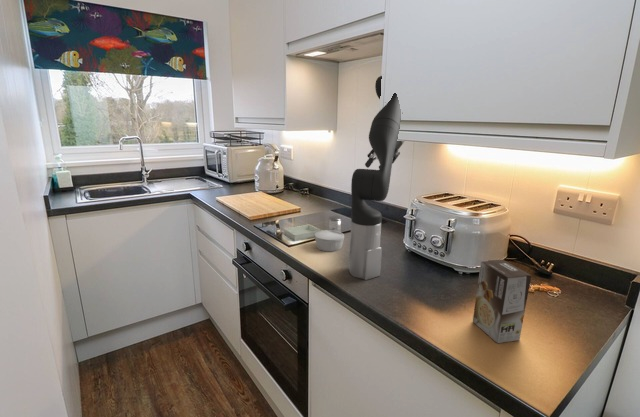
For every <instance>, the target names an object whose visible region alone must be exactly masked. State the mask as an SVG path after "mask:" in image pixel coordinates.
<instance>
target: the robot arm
mask: <svg viewBox="0 0 640 417" xmlns="http://www.w3.org/2000/svg"><path fill="white" fill-rule="evenodd" d="M381 79H382V75H380V76H378V77H377V78H376V80H375V86H374V89H375V93H376V96H377V97H378V99H379V100H380V96H381ZM400 122H401V109H400V104H399V100H398V97H397V94H396V93H394V94H393V96H392V98H391V100H390V101H389V102H388V103H386V104H385V105H384V106H383V107H382V108H380V110H379V111H378V112H377V113H376V115H375V116H374V118H373V120H372V122H371V123H370V124H371V125H370V128H369V129H370V130H369V132H368V141H369V144H370V147H371V150H370V151H369V153H367V158H368V159H367V161H366V162H365V163H364V167H366V168H357V169H355V170H354V171H353V173H352V176H351V186H350V189H351V190H350V191H351V196H350V198H351V208H350V209H351V210H350V212H351V220H350V222H351V223H350V243H349V266H348V267H349V268H348V271H349V272H348V273H349V274H350V276H353V277H354V278H357V279H362V280H364V281H367V280H370V279H371V280H372V279H373V278H377V277H380V276H381V271H382V270H381V269H382V268H381V267H382V253H383V252H382V251H383V247H381V232H382V222H383V221H382V220H383V215H382V213H381V211H379V210H377V209H376V208H373V207H372V206H370V205H369V204H368V203H367V202H366V201H371V202H372V201H374V202H383V201H385V200H386V198H387V196H388V193H389V189H390V181H391V176H392V169H393V168H392V167H393V164H394V163H395V162H396V161H397V159H398V157H399V155H400V154H401V152H400V148H401V147H402V145H404V143H405V142H406V140H405V141H397V139H398V134H399V129H400ZM376 160H378V162H379V166H378V169H372V168H371V169H370V167H371V165H372V164H373V163H374V161H376Z"/></svg>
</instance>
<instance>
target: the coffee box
mask: <svg viewBox="0 0 640 417" xmlns="http://www.w3.org/2000/svg"><path fill="white" fill-rule="evenodd" d="M479 266H480V267H479V273H478V280H477V288H476V296H475V301H474V302H475V303H474V311H473V316H472V322H473V323H474V324H475V326H477V327H479V328H480V329H481V330H482V331H483V332H484V333H485V334H486V335H488V336H489V338H491V339H492V340H493V341H494V342H495V343H497V344H502V343H509V342H514V341H520V340H521V335H522V334H521V333H522V328H523V324H524V323H523V322H524V318H525V312H526V306H527V303H528V302H527V301H528V297H529V296H528V295H529V291H530V285H531V280H532V274H530V273H528V272H526V271H524V270H523V269H521V268H519V267H517V266H515V265H514V264H512V263H510V262H508V261H507V260H504V259H490V260H486V261H480V265H479Z"/></svg>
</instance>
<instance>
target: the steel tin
mask: <svg viewBox="0 0 640 417" xmlns="http://www.w3.org/2000/svg"><path fill="white" fill-rule="evenodd" d="M328 220H329V221H328V222H329V224H328V230H334V231H338V232H341V233H342V220H343V217H341V216H336V215H333V216H329V218H328Z"/></svg>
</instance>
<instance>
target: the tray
mask: <svg viewBox="0 0 640 417" xmlns="http://www.w3.org/2000/svg"><path fill="white" fill-rule="evenodd" d="M318 231H322V229H320V228H318V227H316V226H313V225H312V224H310V223H308V224H303V225H298V226H291V227H285V228H283V235H284V236H285V237H288V238H289V239H291V240H292V241H293V242H298V241H303V240H308V239H313V238H315V233H316V232H318Z"/></svg>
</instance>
